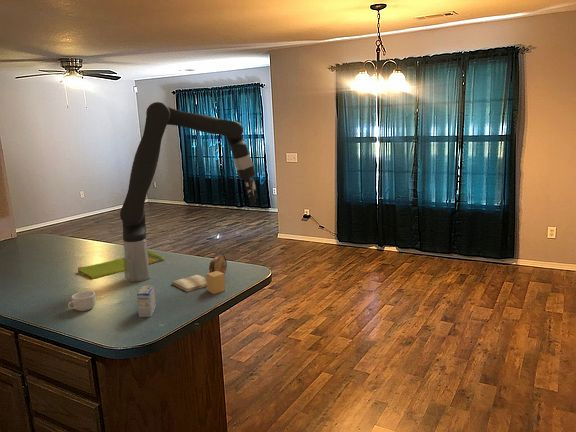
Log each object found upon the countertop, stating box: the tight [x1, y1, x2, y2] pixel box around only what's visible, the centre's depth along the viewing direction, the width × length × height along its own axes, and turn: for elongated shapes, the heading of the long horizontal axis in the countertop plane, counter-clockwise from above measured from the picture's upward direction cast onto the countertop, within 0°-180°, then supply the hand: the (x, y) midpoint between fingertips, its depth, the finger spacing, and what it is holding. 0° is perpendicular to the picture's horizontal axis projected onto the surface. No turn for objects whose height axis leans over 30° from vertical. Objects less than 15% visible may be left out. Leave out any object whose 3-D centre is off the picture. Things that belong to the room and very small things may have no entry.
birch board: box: [171, 274, 207, 293], centre depth 188 cm, size 12×12×1 cm
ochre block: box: [206, 271, 226, 295], centre depth 180 cm, size 5×5×7 cm
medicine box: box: [136, 285, 157, 318], centre depth 160 cm, size 8×4×9 cm, turn 5°
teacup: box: [67, 290, 96, 312], centre depth 164 cm, size 10×8×5 cm
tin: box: [208, 254, 227, 274], centre depth 197 cm, size 15×3×8 cm, turn 168°
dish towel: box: [77, 249, 165, 281], centre depth 214 cm, size 15×36×3 cm, turn 137°
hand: (254, 201), depth 205 cm, fingers open, 8 cm apart
